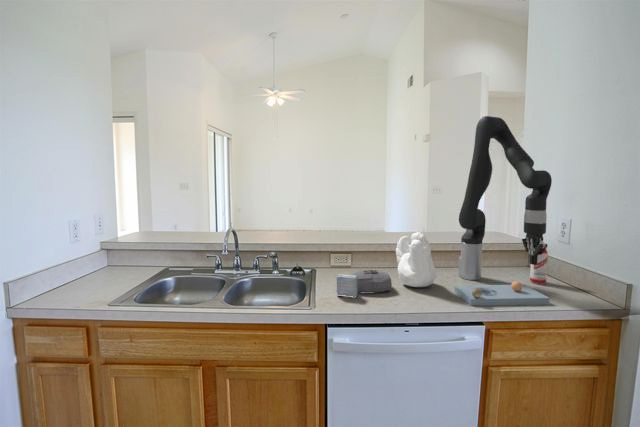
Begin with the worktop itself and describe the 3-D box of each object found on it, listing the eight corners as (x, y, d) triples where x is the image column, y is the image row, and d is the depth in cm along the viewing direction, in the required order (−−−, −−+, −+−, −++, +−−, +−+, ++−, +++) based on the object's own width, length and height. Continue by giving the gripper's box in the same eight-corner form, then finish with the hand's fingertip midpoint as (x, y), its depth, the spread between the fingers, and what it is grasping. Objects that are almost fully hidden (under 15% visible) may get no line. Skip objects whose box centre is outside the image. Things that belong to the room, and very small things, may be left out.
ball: (508, 290, 139) (509, 280, 138) (515, 288, 140) (515, 279, 140) (518, 293, 135) (518, 283, 135) (524, 291, 137) (524, 282, 136)
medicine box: (357, 295, 144) (357, 275, 143) (355, 298, 139) (355, 278, 138) (339, 293, 146) (339, 273, 145) (336, 296, 142) (336, 276, 141)
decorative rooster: (442, 290, 147) (443, 234, 144) (407, 292, 145) (407, 235, 142) (419, 274, 172) (420, 225, 169) (389, 275, 170) (389, 226, 167)
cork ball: (469, 296, 132) (469, 288, 132) (475, 295, 134) (476, 286, 133) (477, 299, 129) (477, 290, 129) (483, 298, 131) (484, 289, 130)
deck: (524, 290, 146) (524, 284, 146) (549, 304, 130) (549, 297, 130) (454, 291, 146) (454, 285, 146) (470, 305, 130) (470, 299, 130)
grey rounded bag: (386, 283, 159) (343, 284, 158) (386, 265, 158) (343, 267, 157) (394, 294, 144) (347, 296, 143) (394, 275, 143) (347, 276, 142)
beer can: (548, 285, 152) (550, 249, 150) (533, 284, 153) (535, 249, 151) (542, 280, 158) (544, 246, 156) (527, 280, 159) (529, 246, 157)
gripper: (515, 219, 141) (514, 260, 143) (536, 223, 128) (534, 268, 130) (533, 219, 141) (532, 260, 143) (556, 223, 128) (553, 268, 130)
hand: (533, 264), depth 136 cm, fingers closed
